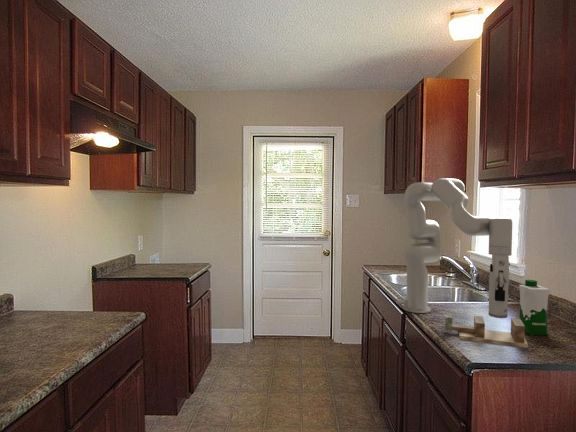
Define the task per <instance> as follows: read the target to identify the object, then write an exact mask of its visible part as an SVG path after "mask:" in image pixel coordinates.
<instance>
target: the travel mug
mask: <svg viewBox="0 0 576 432" xmlns="http://www.w3.org/2000/svg"><path fill="white" fill-rule="evenodd" d="M509 266H511V263H510V262H509ZM488 279H489V283H488V284H489V285H488V286H489V288H488V289H489V290H488V316H490V317H491V318H496V319H507V318H508V316H509V315H508V312H509V311H508V308H509V282H508V283H507V282H506V281H505V301H496V300H495V290H496V282H495V281H494V278H493V265H492V263H490V265H489V278H488ZM497 281H499V279H498V280H497ZM498 284H499V283H498Z"/></svg>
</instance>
